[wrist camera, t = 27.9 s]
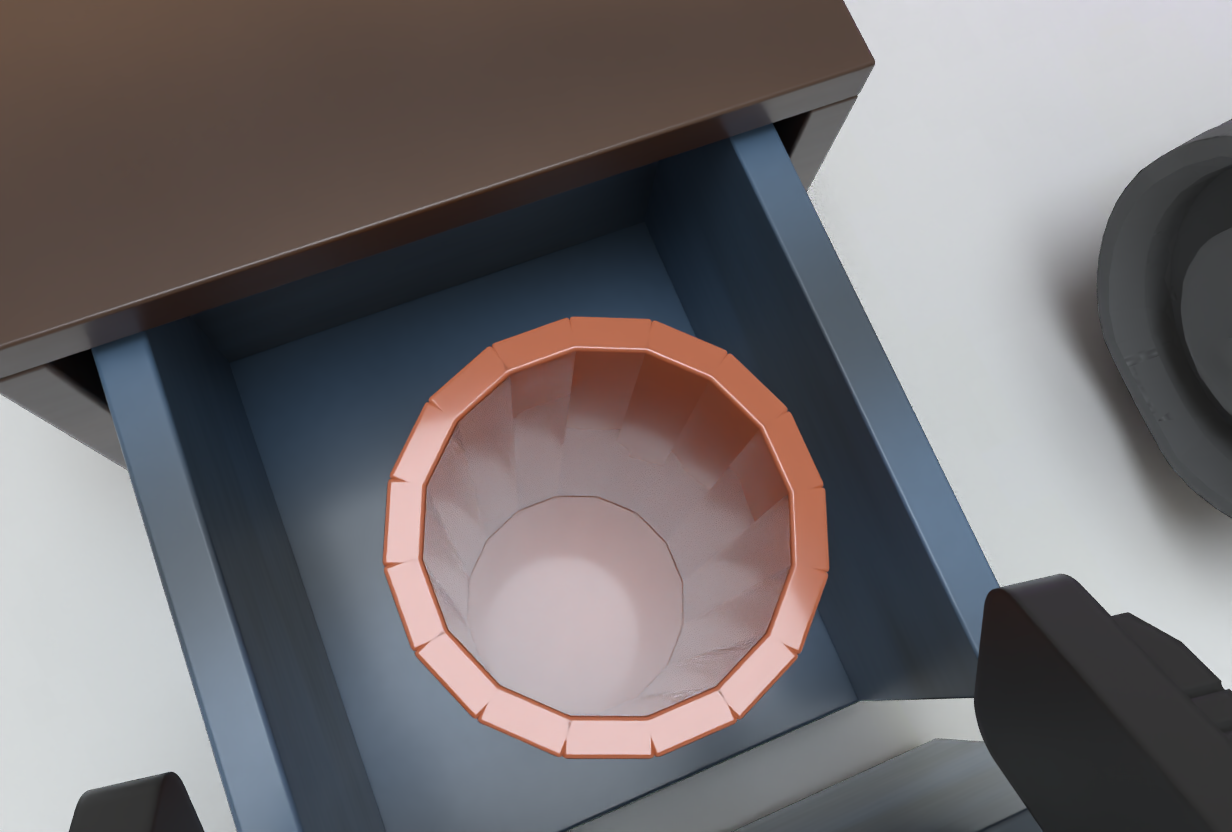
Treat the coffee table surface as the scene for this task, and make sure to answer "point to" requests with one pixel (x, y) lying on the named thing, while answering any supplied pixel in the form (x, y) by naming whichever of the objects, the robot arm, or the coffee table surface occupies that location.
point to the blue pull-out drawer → (377, 430)
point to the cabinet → (342, 141)
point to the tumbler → (606, 538)
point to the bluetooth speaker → (1177, 306)
